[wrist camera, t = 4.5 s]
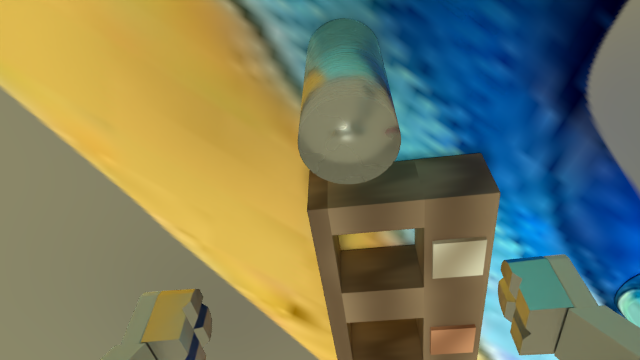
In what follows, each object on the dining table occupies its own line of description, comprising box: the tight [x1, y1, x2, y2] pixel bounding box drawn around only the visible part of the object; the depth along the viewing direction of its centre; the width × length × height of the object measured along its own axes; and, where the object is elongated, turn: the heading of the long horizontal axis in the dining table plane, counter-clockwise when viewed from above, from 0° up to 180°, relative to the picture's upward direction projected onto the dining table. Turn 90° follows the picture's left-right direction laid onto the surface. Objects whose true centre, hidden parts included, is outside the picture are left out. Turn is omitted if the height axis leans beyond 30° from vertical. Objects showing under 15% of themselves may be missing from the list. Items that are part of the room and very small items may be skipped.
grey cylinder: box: [298, 18, 401, 184], centre depth 21 cm, size 4×4×9 cm
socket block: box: [307, 153, 500, 360], centre depth 33 cm, size 11×19×4 cm, turn 8°
